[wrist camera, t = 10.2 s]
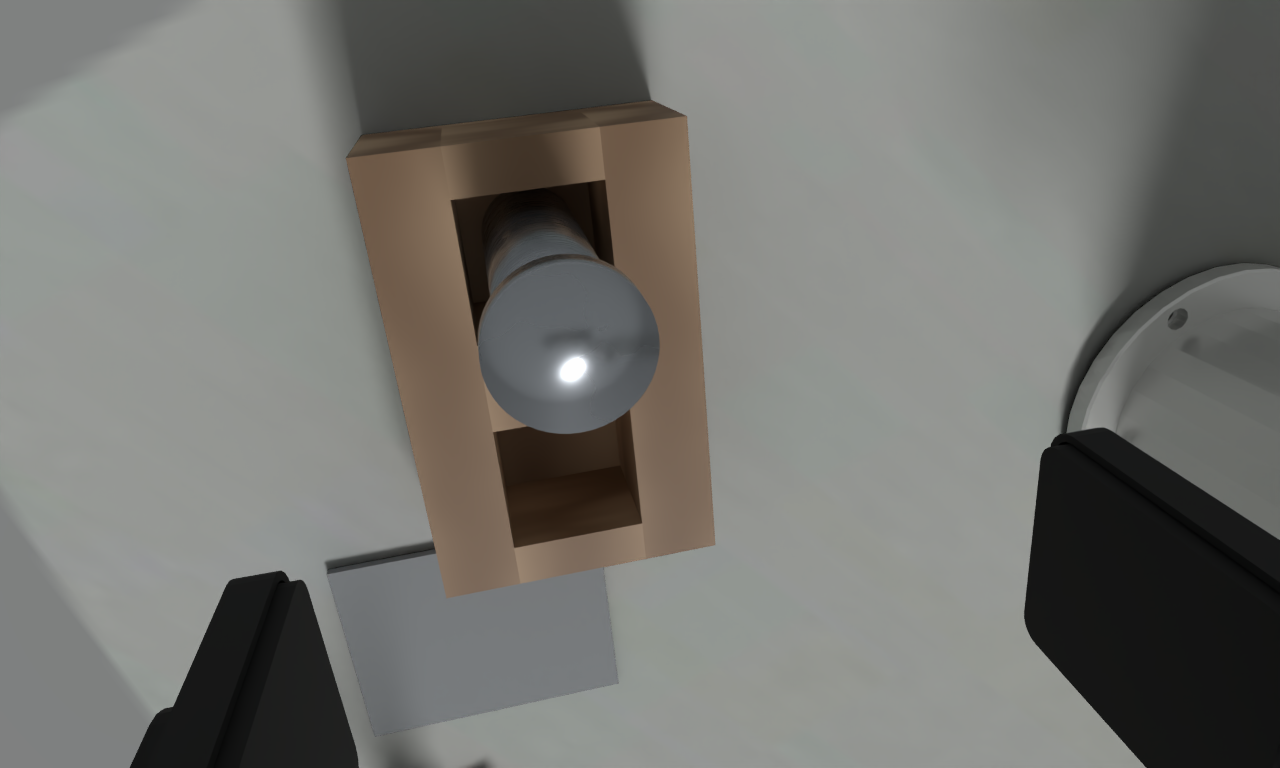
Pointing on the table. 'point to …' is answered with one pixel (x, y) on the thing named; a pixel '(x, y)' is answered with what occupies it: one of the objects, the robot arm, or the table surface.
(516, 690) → the mat
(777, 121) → the table surface
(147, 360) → the table surface
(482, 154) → the block
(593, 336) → the pin
